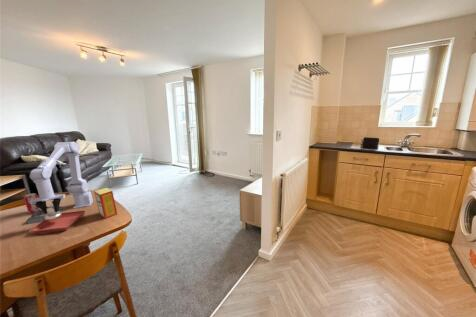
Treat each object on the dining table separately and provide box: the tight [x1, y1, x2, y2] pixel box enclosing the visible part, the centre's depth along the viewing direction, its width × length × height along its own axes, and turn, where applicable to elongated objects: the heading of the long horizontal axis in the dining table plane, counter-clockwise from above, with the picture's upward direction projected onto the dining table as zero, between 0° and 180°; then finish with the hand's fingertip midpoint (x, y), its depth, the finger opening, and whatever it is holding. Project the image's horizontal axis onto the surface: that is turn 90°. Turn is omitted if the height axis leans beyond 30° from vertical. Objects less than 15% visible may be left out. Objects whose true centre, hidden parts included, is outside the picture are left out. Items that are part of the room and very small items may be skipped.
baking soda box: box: [94, 187, 118, 220], centre depth 119 cm, size 10×6×16 cm
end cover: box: [44, 204, 63, 221], centre depth 110 cm, size 7×7×7 cm
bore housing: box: [26, 205, 64, 225], centre depth 120 cm, size 12×12×3 cm
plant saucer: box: [28, 210, 86, 235], centre depth 111 cm, size 18×18×3 cm
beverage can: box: [23, 192, 41, 214], centre depth 125 cm, size 6×6×12 cm
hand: (52, 212), depth 109 cm, fingers closed on end cover, 4 cm apart
